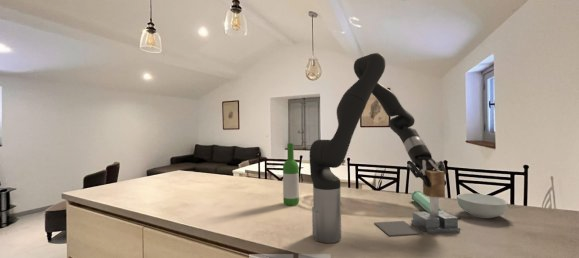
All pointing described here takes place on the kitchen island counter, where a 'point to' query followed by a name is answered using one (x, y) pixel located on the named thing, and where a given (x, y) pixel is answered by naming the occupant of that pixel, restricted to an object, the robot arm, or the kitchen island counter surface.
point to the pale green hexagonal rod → (422, 200)
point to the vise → (435, 220)
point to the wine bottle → (290, 179)
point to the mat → (397, 228)
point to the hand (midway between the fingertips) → (437, 185)
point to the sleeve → (435, 184)
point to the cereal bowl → (482, 205)
